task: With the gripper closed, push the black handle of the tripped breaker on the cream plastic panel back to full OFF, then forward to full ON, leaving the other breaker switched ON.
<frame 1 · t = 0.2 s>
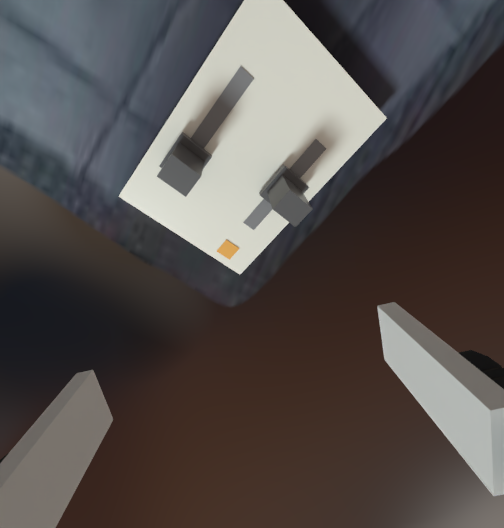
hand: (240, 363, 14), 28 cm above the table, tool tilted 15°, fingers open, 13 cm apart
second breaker: (182, 167, 30), point 6 cm above the table, slide at 4.0 cm
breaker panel: (246, 152, 36), on the table
tripped breaker: (287, 198, 33), point 6 cm above the table, slide at 0.0 cm
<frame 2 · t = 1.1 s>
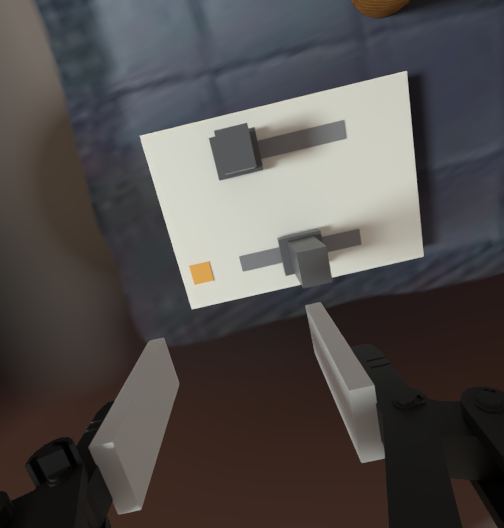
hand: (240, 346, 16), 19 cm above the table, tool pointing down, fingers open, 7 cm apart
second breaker: (236, 152, 26), point 6 cm above the table, slide at 4.0 cm
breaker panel: (286, 198, 33), on the table
tripped breaker: (307, 258, 28), point 6 cm above the table, slide at 0.0 cm
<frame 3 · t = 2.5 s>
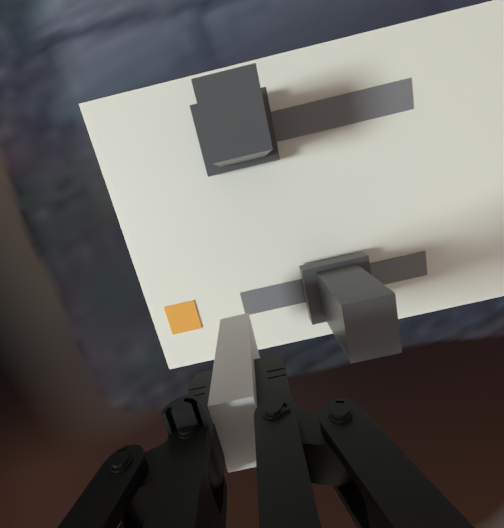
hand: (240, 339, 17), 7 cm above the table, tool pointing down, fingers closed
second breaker: (235, 127, 15), point 6 cm above the table, slide at 4.0 cm
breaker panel: (310, 203, 22), on the table
tripped breaker: (350, 303, 17), point 6 cm above the table, slide at 0.0 cm
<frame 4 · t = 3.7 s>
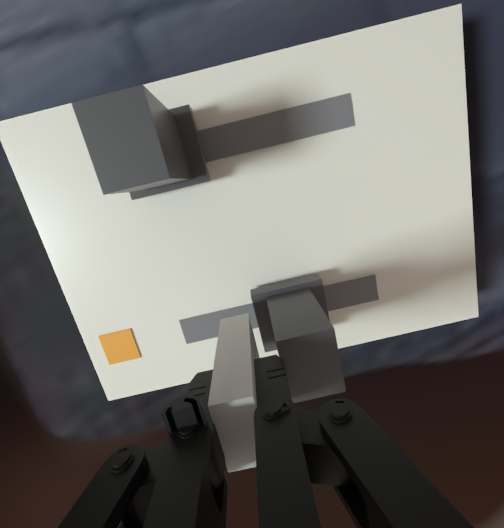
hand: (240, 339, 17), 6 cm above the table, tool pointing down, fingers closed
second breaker: (147, 150, 14), point 6 cm above the table, slide at 4.0 cm
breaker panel: (257, 222, 21), on the table
tripped breaker: (298, 333, 16), point 6 cm above the table, slide at -0.6 cm, touching gripper
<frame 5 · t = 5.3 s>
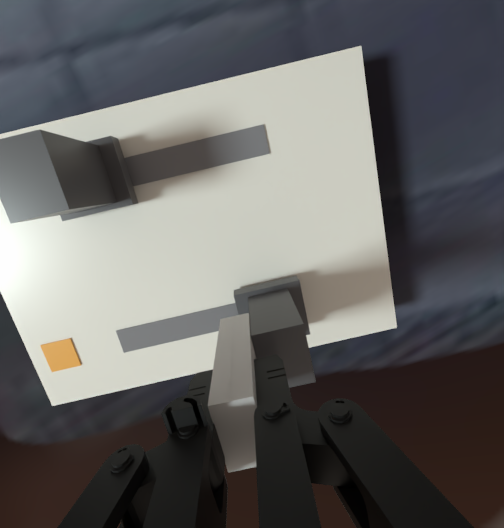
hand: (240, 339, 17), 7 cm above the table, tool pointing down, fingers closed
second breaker: (66, 179, 15), point 6 cm above the table, slide at 4.0 cm
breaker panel: (195, 239, 22), on the table
tripped breaker: (276, 329, 17), point 6 cm above the table, slide at -4.1 cm
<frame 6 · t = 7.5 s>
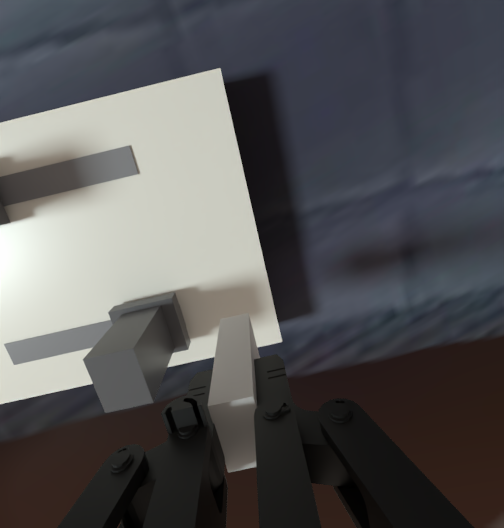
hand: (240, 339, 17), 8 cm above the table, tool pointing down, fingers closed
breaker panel: (89, 253, 23), on the table
tripped breaker: (138, 348, 18), point 6 cm above the table, slide at -4.1 cm
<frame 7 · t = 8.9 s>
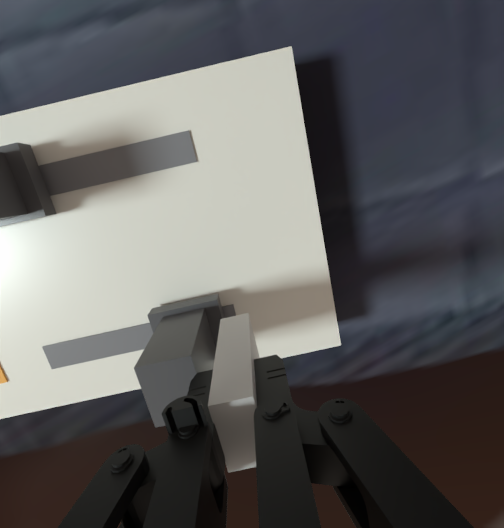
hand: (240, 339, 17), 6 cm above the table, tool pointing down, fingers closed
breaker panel: (132, 249, 21), on the table
tripped breaker: (184, 354, 16), point 6 cm above the table, slide at -3.3 cm, touching gripper
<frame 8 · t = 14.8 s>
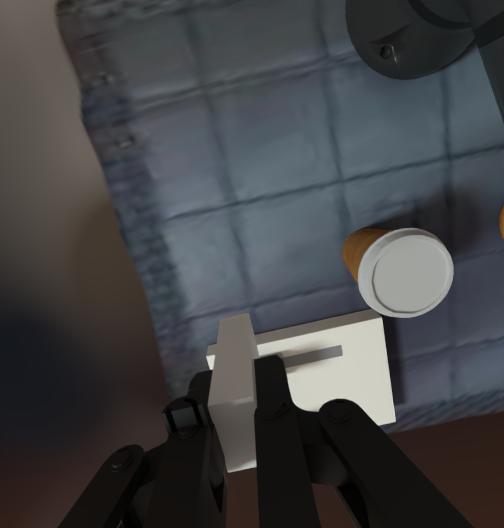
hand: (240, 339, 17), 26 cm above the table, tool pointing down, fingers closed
disposable coffee cup: (364, 251, 43), on the table
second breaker: (272, 381, 40), point 6 cm above the table, slide at 4.0 cm
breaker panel: (301, 377, 48), on the table
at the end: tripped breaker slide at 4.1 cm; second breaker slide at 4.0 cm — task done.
